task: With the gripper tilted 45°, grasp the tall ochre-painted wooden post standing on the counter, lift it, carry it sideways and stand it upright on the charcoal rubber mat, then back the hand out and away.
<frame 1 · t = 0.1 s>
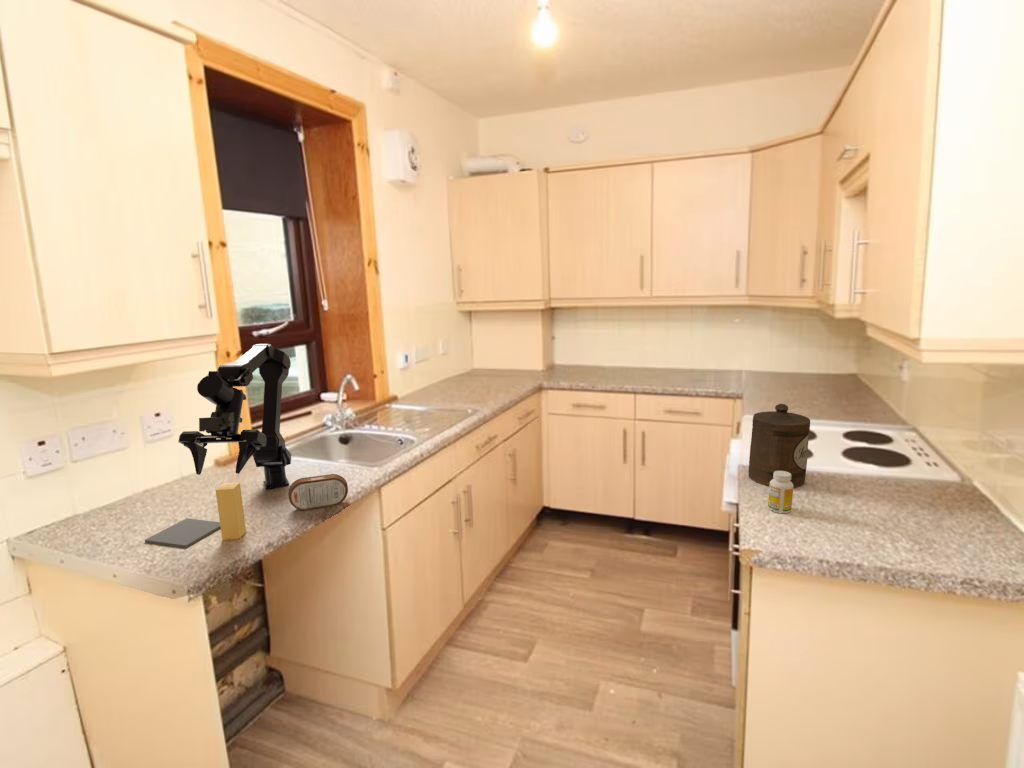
hand: (217, 473, 133), 15 cm above the worktop, tool tilted 35°, fingers open, 9 cm apart
tin: (320, 507, 150), on the worktop
wooden container: (776, 479, 161), on the worktop
ochre post: (234, 535, 134), on the worktop
supplement bottle: (779, 510, 141), on the worktop
charcoal mat: (186, 533, 136), on the worktop
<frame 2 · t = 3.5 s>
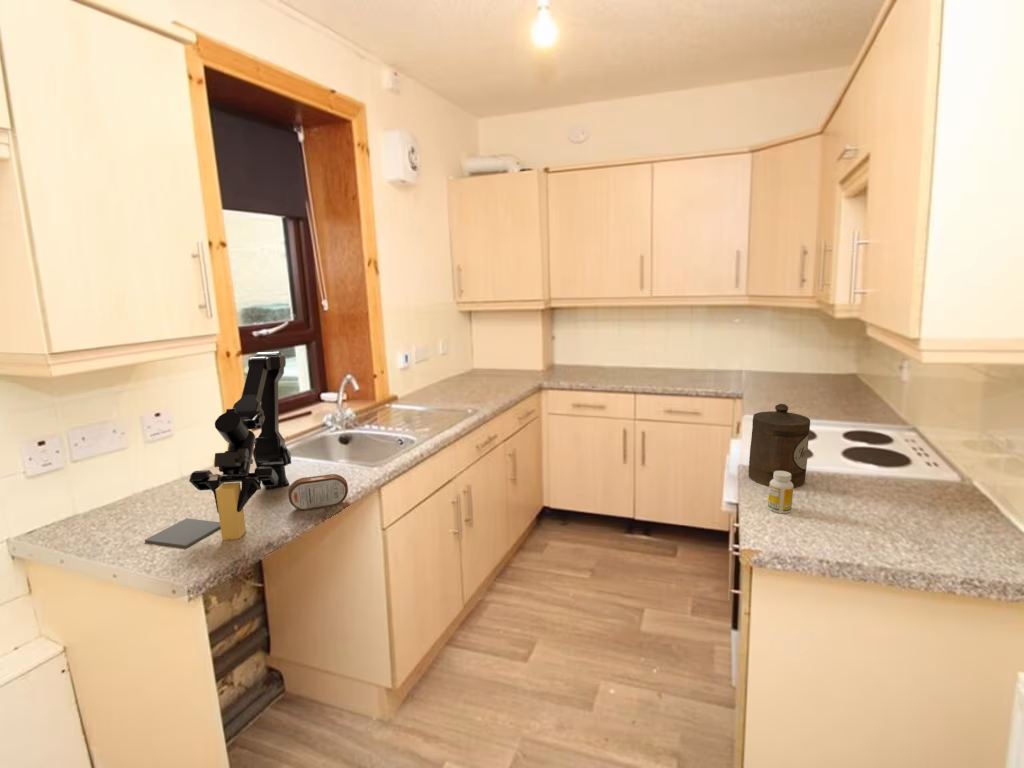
hand: (228, 512, 131), 7 cm above the worktop, tool tilted 45°, fingers closed on ochre post, 4 cm apart
ochre post: (234, 535, 134), on the worktop, touching gripper
everything else where it was.
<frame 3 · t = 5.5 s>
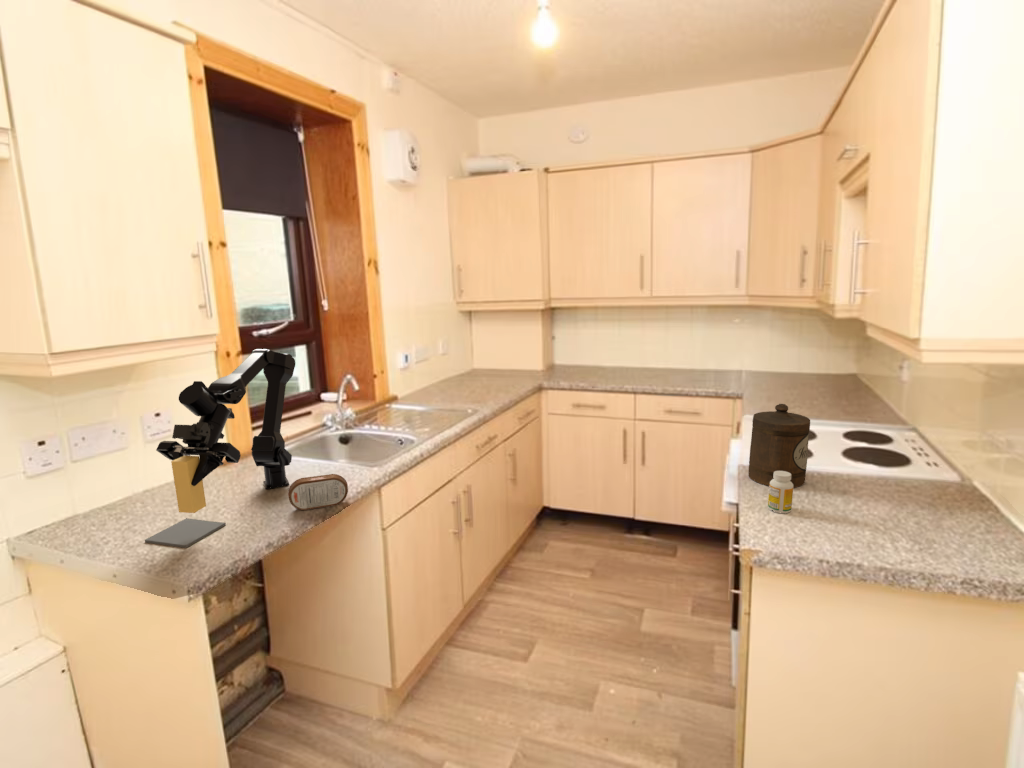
hand: (184, 484, 130), 13 cm above the worktop, tool tilted 45°, fingers closed on ochre post, 4 cm apart
ochre post: (192, 509, 133), point 7 cm above the worktop, touching gripper
everything else where it was.
when the fingers open (8 cm above the worktop, at t = 7.4 s): ochre post drops 1 cm, resting on charcoal mat.
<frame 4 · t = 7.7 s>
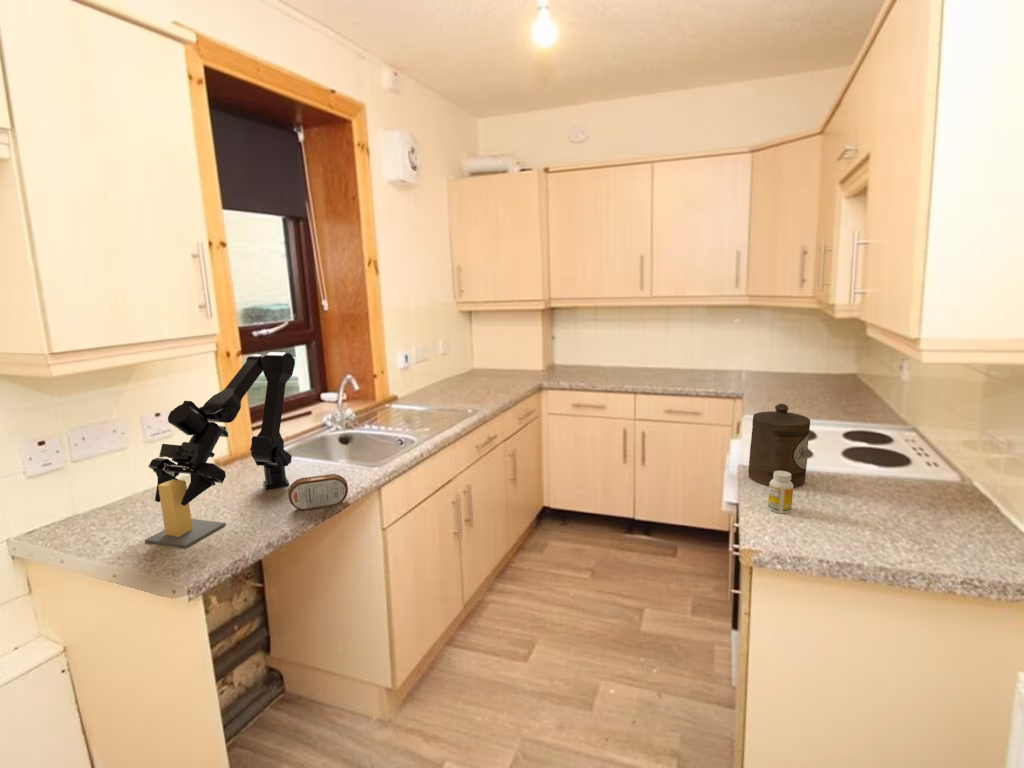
hand: (169, 503, 132), 9 cm above the worktop, tool tilted 45°, fingers open, 8 cm apart
ochre post: (179, 532, 135), point 1 cm above the worktop, touching charcoal mat
everything else where it was.
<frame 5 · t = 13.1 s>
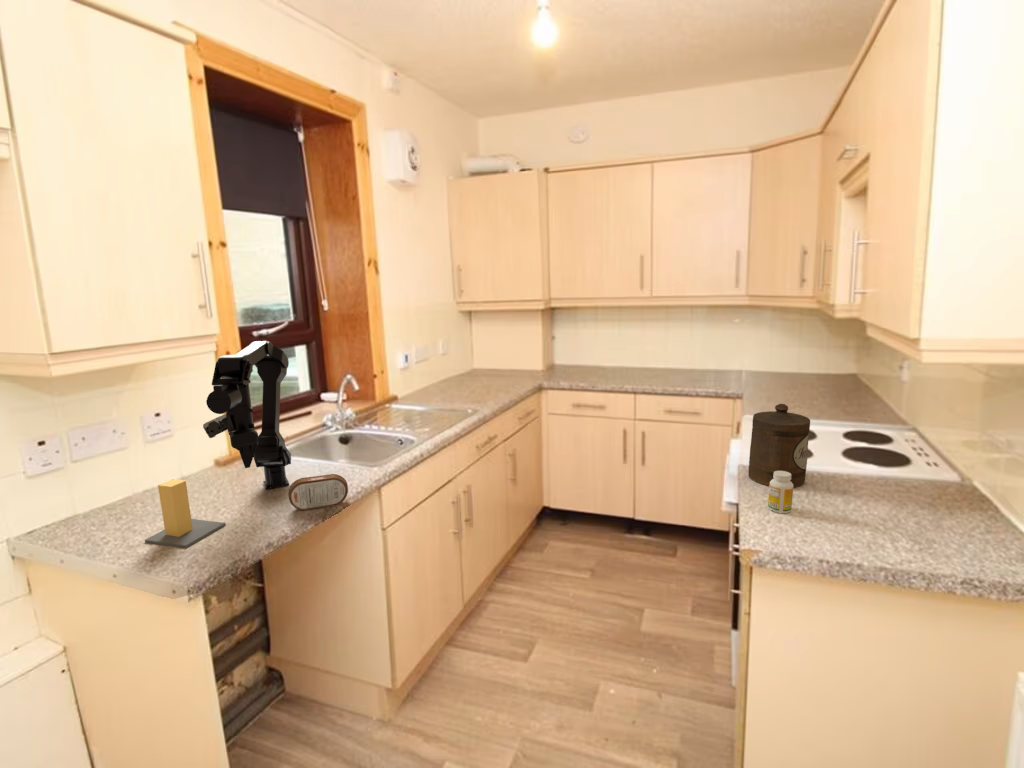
hand: (245, 462, 146), 13 cm above the worktop, tool pointing down, fingers open, 9 cm apart
nothing on the worktop moved.
at the end: ochre post 1.4 cm from the charcoal mat (horizontally); ochre post tilted 0°; ochre post point 0.6 cm above the worktop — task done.
